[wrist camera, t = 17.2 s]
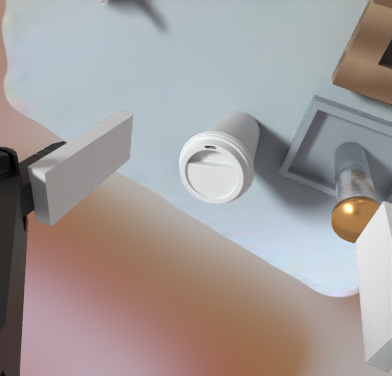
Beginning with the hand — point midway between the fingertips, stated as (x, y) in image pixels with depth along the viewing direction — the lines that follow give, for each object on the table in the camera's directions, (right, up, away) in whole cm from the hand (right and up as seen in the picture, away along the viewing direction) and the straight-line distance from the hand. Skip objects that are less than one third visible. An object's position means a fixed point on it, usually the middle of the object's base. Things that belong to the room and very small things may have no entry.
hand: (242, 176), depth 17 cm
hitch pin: (+19, +4, +29) cm, 35 cm away
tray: (+20, +4, +29) cm, 36 cm away
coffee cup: (+4, +8, +34) cm, 35 cm away
